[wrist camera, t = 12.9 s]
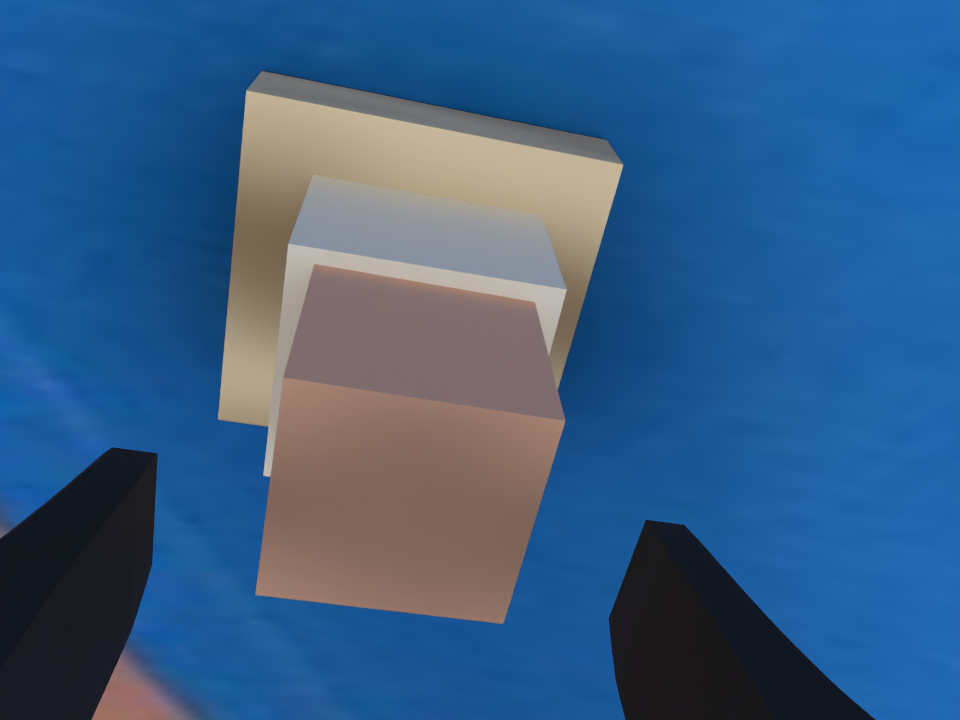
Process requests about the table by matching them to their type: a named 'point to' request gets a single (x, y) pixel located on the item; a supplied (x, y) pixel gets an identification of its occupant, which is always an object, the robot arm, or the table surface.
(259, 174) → the oak slab
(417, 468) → the terracotta cube
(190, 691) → the table surface
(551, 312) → the cream cube
